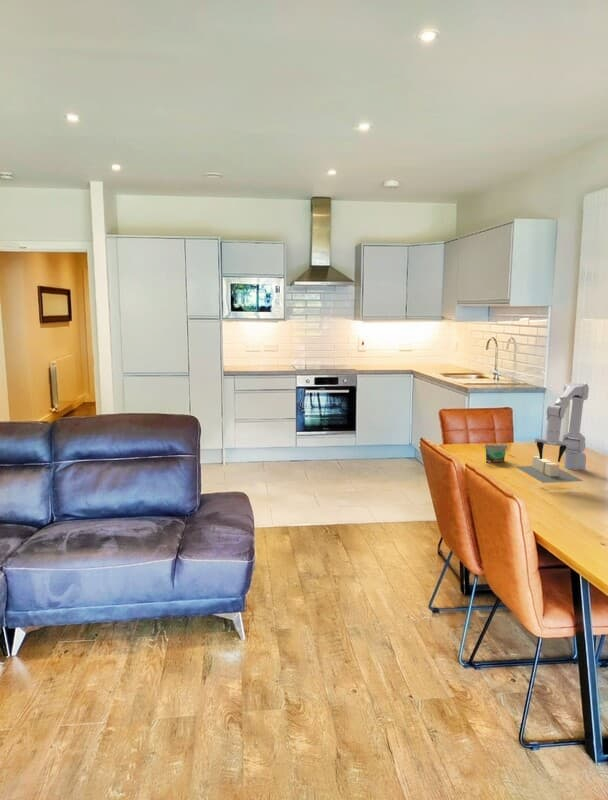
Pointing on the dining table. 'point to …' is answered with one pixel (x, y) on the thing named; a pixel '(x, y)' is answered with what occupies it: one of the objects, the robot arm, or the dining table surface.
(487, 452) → the food container
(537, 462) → the cream box
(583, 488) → the dining table surface
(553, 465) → the block
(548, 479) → the mat
